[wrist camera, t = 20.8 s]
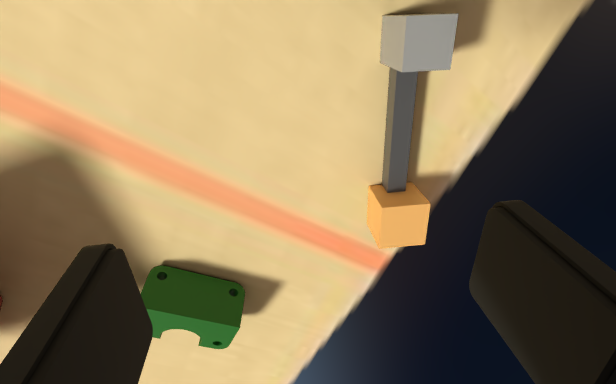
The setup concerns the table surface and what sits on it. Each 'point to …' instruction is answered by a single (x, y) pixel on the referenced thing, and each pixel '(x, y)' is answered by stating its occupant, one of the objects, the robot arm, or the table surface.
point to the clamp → (193, 305)
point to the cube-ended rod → (405, 123)
